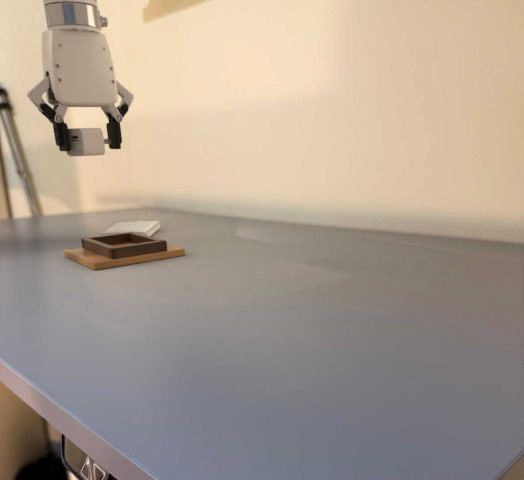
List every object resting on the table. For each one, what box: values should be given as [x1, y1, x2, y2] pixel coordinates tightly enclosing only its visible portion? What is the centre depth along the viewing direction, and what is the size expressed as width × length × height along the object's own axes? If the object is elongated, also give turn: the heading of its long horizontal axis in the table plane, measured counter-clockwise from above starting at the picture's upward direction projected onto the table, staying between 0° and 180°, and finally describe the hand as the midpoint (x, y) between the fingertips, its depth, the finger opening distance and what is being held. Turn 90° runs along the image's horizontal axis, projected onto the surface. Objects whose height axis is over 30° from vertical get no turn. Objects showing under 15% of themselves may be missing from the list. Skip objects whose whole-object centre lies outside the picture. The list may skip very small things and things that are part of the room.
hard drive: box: [98, 220, 161, 237], centre depth 98 cm, size 2×8×12 cm
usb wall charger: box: [65, 127, 111, 157], centre depth 86 cm, size 4×7×4 cm, turn 151°
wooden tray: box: [63, 232, 186, 271], centre depth 80 cm, size 12×14×2 cm
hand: (90, 149), depth 86 cm, fingers closed on usb wall charger, 7 cm apart
